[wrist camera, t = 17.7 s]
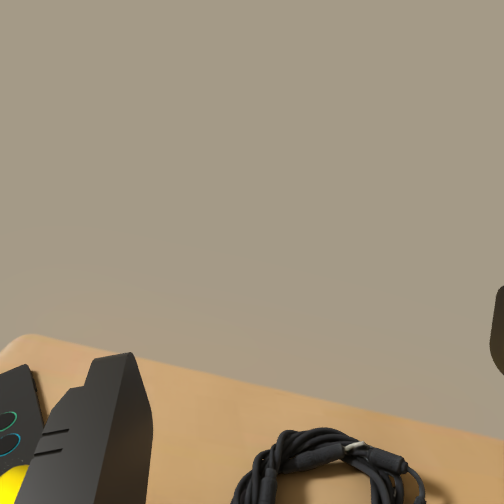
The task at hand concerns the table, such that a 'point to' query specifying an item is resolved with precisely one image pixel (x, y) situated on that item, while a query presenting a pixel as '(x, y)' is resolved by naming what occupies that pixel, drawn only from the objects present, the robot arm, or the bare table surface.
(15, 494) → the element tile
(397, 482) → the cable
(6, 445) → the smart home device
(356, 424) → the table surface
